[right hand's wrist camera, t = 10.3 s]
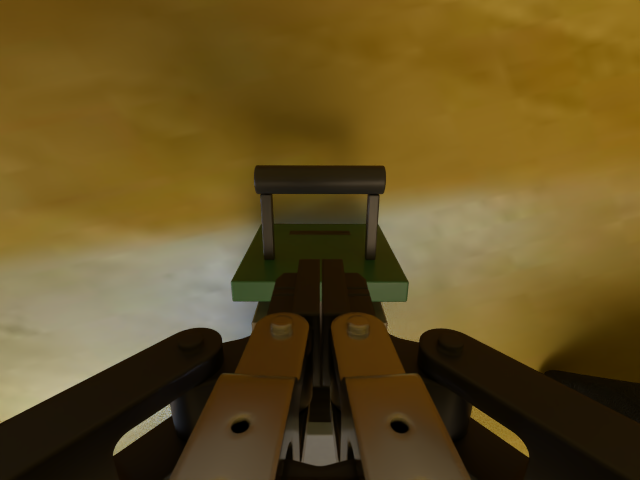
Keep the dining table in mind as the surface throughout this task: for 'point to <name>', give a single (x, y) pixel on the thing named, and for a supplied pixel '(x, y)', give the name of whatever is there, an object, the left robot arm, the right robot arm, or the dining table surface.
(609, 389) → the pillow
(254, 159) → the dining table surface
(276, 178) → the drawer
